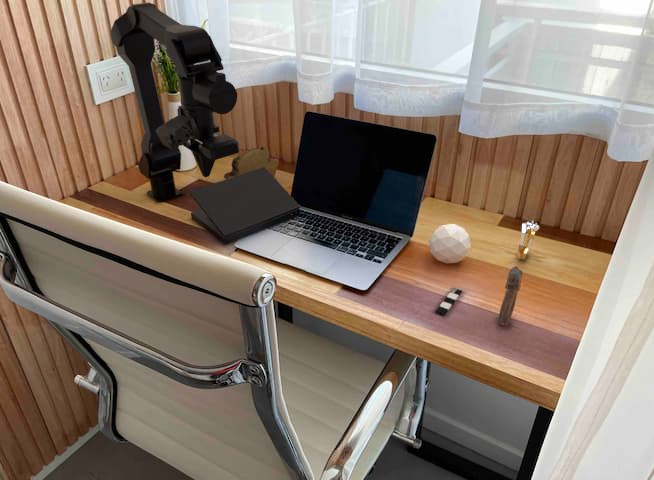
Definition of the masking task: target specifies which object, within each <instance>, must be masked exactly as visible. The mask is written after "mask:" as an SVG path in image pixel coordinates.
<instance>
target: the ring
mask: <svg viewBox="0 0 654 480" xmlns="http://www.w3.org/2000/svg"><path fill="white" fill-rule="evenodd" d="M534 221H535V220H533V219H532V220H531V221H529V220H527V222H522V224H521V236H520V239H519V240H520V241H519V245H518V249H517V255H516V256H517V259H520V260H525V259H526V257H527V255H528V253H529V251H530V249H531V247H532V245H533V241H534V238H535V234H536V232H537V231H538V230H539V229H540V225H538V223H537V222H535V223H534ZM526 234H527V235H526ZM526 236H527V239H526ZM525 240H526V241H525Z"/></svg>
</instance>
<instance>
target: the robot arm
mask: <svg viewBox="0 0 654 480" xmlns="http://www.w3.org/2000/svg"><path fill="white" fill-rule="evenodd" d="M110 39H111V42H112V44H113V45H114V47H115V50H116V53H117V55H118V56H119V57H120V59H122V61H123V62H124V63H125V64H126V65H127V66H128V69H129V73H130V78H131V81H132V85H133V86H132V87H133V89H134V94H135V98H136V102H137V106H138V110H139V113H140V114H139V115H140V118H141V122H142V127H143V131H144V134H143V136H142V140H141V142H140V149H141V156H140V158H139V160H138V163H137V167H138V170H139V172H140V174H141V175H142V176H144V177H145V178H146V179H148V180H149V184H150V190H147V191H146V194H147V195H148V196H149V197H151V198H152V199H153V200H154V201H155V202H157V203H162V202H164V201H167V200H171V199H174V198H176V197H181V196H182V195H183V194H182V192H181V191H180V190H179V189H177V188H176V184H175V183H176V182H175V177H174V172H175V171H180V170H181V166H182V165H181V163H182V153H181V152H182V151H181V150H180V146H183V147H185V148H186V149H187V150H189V151H190V152H191V153H192V156H193V158H194V159H195V162H196V164H197V166H198V168H199V170H200V173H201V175H202V177H204V178H208V177H210V176H211V172H212V170H213V168H214V165H215V163H216V160H220V159H225V158H227V157H230V156H233V155H236V154H239V153H240V147H239V146H240V144H239V141H238V140H236V139H235V138H233V137H231V136H230V135H228V134H225V133H222V134H220V135H217V134H216V133H219V132H220V126H218V125H217V124H216V123H215V117H214V113H215V114H217V115H218V114H219V115H226V114H228V113H230V112H231V111H232V110H234V109H235V107H236V104H237V101H238V92H237V91H238V90H236V87H235V86H234V84H232V83H231V82H230V81H227V77H226V73H224V72H221V71H223V70H224V69H225V68H224V65H223V62H222V61H223V59H222V57H221V55H220V53H219V51H218V50H217V48H216V46H215V44H214V41H213V39H212V37H211V35H210V34H209V33H208V30H206V29H205V28H203V27H201V26H197V25H189V24H182V23H179V22H178V21H177V20H175V19H174V18H172V17H171V16H169V15H168V14H166V13H164V12H163V11H162V10H160V9H159V8H157V6H156V5H155V4H154V3H151V2H139V3H134V4H131V5H130V6H128V7H127V9H126V11H125V12H124V13H123V14H122V15H120V16H119V17H118V18H117V19H115V20H114V22H113V24H112V27H111V29H110ZM155 41H157V42H159V43H160V44H161V45H163V46H164V47H165V48H166V49H165V50H166V57H168V58H169V60H170V61H171V62H172V64H173V65H174V68H173V73H174V74H176V75H177V80H178V85H179V86H178V87H179V91H180V92H179V94H180V101H181V105H178V106H177V108H176V111H177V115H176V116H175V117H173V118H170V119H168V120H167V121H166V122H165V119H164V114H163V110H162V106H161V101H160V98H159V93H158V89H157V84H156V80H155V76H154V71H153V66H152V61H153V59H154V55H155V52H156V44H155V43H156V42H155ZM219 71H220V72H219Z"/></svg>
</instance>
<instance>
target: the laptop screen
mask: <svg viewBox="0 0 654 480" xmlns="http://www.w3.org/2000/svg"><path fill="white" fill-rule="evenodd" d="M189 195H190V196H191V198H192V199H193V200H194V201H195V203H196V204H197V205H198V206H199V207H200V209H202V210H203V211H204V212H205V214H206V215H207V216H208V217H209V219H210V220H211V221H212V222H213V224H214V225H215V226H216V227H217V229H218V230H219V231H220V232H221V234H222V235H223V236H224V237H227V236H230V235H232V234H235V233H238V232H240V231H243V230H245V229H248V228H250V227H253V226H255V225H258V224H261V223H263V222H266V221H268V220H271V219H273V218H276V217H279V216H281V215H284V214H286V213H289V212H291V211H294V210H296V209H300V208H301V205H300V204H299V203H298V202H297V200H296V199H294V197H293V196H292V195H291V194H290V193H289V192H288V191H287V190H286V189H285V188H284V187H283V185H282V184H281V183H280V182H279V181H278V180H277V178H276V177H275V176H272V175H271V174H270V172H269V171H268V170H267V169H266V168H265V167H262V168H259V169H256V170H253V171H250V172H247V173H244V174H241V175H238V176H235V177H232V178H229V179H224V180H221V181H217V182H214V183H211V184H208V185H205V186H202V187H199V188H196V189H193V190H190V191H189Z"/></svg>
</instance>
